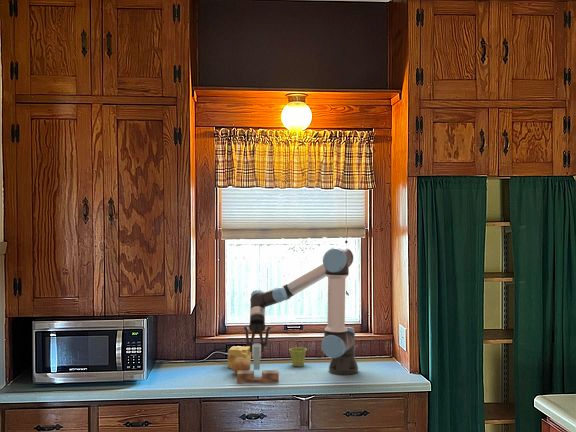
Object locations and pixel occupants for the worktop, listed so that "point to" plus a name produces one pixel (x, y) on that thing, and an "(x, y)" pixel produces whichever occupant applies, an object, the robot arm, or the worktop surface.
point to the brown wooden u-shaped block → (267, 377)
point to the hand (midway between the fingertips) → (256, 357)
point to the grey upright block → (256, 356)
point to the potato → (240, 365)
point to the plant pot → (298, 356)
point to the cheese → (238, 354)
